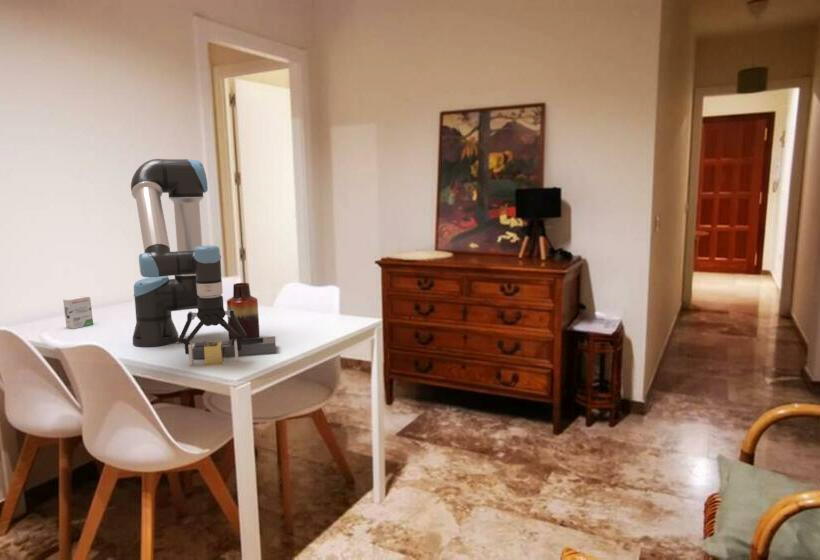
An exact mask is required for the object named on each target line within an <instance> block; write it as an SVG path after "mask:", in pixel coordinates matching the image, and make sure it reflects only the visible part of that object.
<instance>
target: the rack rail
mask: <svg viewBox="0 0 820 560" xmlns="http://www.w3.org/2000/svg"><path fill="white" fill-rule="evenodd" d="M214 341H215V342H222V347H223V358H228V357H229V358H230V357H231V358H232V357H235V345H234V341H235V339H229V338H228V339H219V340H215V339H214V340H202V341H195V343H194V345H193V346H192V349H193V360H205V355H204V346H205V343H209V342H214ZM276 345H277V344H276V335H274V336H262V337H258V338H244V339H242V340H241V350H238V357H241V356H242V357H243V356H254V355H255V356H256V355H258V356H259V355H268V354H277V349H276V348H277V347H276Z"/></svg>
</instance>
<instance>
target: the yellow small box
mask: <svg viewBox="0 0 820 560" xmlns="http://www.w3.org/2000/svg"><path fill="white" fill-rule="evenodd" d="M213 341H214V340H213ZM204 355H205V359H204V366H205V367H206V366H215V365H216V366H218V365H223V362H224V357H223V347H222V342H215V341H214V342H209V343H205V346H204Z"/></svg>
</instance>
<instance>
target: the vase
mask: <svg viewBox="0 0 820 560" xmlns="http://www.w3.org/2000/svg"><path fill="white" fill-rule="evenodd" d="M232 288H233V291H232V296H231V297H230V298H228V299H227V300H226V311H229V310H231V309H234V312H235V316H236V318H237V319H238V321H239V323H240V324H241V326H242V328H243V329H244V331H245V333H246V334H247V335H246V338H258V337H260V319H259V304H258V301H259V300H258V298H257V297H255V296H252V295H251V289H250V283H248V282H237V283H234V284H233V287H232ZM226 316H227V323H228V324H229V325H230V326H231V327H232V328H233V329H234V330H235V331H236V332H237V333H238V334H239V335H241V334H240V333H239V331H238V329H237V328H236V326H235V324H234V323H233V321H232V319H231V317H228V315H226ZM229 339H235V338H234V337H233V336H232V335H231V334H230V333H229V332H228V340H229Z"/></svg>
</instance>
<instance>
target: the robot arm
mask: <svg viewBox="0 0 820 560" xmlns="http://www.w3.org/2000/svg"><path fill="white" fill-rule="evenodd" d="M206 174H207V173H206V170H205V167H204V165H203V163H202V162H201V161H199V160H198V159H188V158H185V159H184V158H183V159H181V158H177V159H175V158H174V159H173V158H172V159H171V158H169V159H168V158H166V159H165V158H153V159H151V160H148V161H145V162H144V163H142V164H141V165H140V166H138V168H137V169H136V171H135V172H134V174H133V176H132V178H131V183H130V190H131V196H132V197H133V198H134V200H135V203H136V207H137V213H138V219H139V225H140V233H141V234H140V235H141V239H142V245H143V250H144V251H143V252H144V253H140V254H139V256H138V264H139V265H138V266H139V272H140V276H141V277H142V278H141V279H139V280H137V281H135V283H134V284H133V297H134V306H135V307H134V308H135V319H136V323H135V327H134V330H133V335H132V345H133V346H135V347H142V348H143V347H145V348H146V347H148V348H149V347H150V348H151V347H158V346H165V345H169V344H173V343H175V342H178V343H179V344H183V345H184V352H185V355H188V359H189V366H193V364H194V359H193V342H191V341H192V339H193V338H195V335H197V333H198V332H199V331H200V329H201V328H202V327H203V326H206V327H210V326H218V325H220V326H221V327H222V328H223V329H224V330H226V331H227V332H228V334H229V333H230V334H231V335H232V336H233V337H234V338H235V341H234V345H235V356H234V360H235V362H239V356H238V350H241V340H242V339H244V338H246V335H247V334H246V333H245V331H244V329H243V328H242V326H241V324H240V323H239V321H238V319H237V318H236V316H235V312H234V309H231V310H229V311H227V310H225V307H224V296H223V293H224V292H223V278H222V263H221V259H222V256H221V251H220V247H219V246H217V245H203V239H202V238H203V236H202V225H201V221H202V220H201V209H200V202H201V201H202V200H203V199H204V193H207V192H208V188H209V186H208V178H207V175H206ZM166 193H167V194H168V199H169V200H170V201H172V203H173V209H174V221H175V222H174V223H175V238H176V249H177V251H171V247H170V242H169V237H168V231H167V225H166V221H165V215H164V209H163V203H162V199H161V197H162V196H163V194H166ZM170 276H174V278H170ZM185 310H197V312H192V311H189V312H188V313H187V314H186V315H187V318H186V321H185V325H184V326H183V328H182V330H181V333H180V334H179V333H178V330H177V327H176V326H175V323H174V320H173V318H172V312H176V311H185ZM227 315H228V316H227ZM225 316H227V318H228V317H231V319H232V321H233V323H234V324H235V326H236V328H237V329H238V331H239V333H240V334H241V335H239V334H238V333H237V332H236V331H235V330H234V329H233V328H232V327H231V326H230V325H229V324H228V321H226V320H225V319H224V318H225ZM195 318H197V319H198V320H199V323H198V324H197V325H196V326H195V328H194V329H192V331H191V333H190V334H188V336H187V338H185V337H186V334H187V332H188V330H189V327H190V326H191V323H192V321H193V320H194V319H195Z"/></svg>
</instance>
